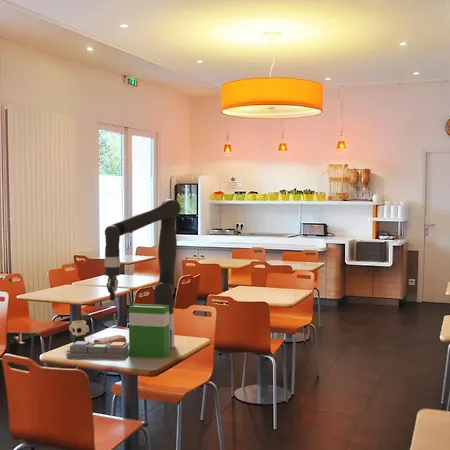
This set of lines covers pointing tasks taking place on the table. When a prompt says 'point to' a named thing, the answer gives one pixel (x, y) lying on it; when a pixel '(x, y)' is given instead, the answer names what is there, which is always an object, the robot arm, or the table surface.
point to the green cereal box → (149, 330)
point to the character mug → (78, 330)
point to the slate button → (81, 343)
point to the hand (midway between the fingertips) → (112, 300)
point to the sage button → (100, 345)
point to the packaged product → (111, 339)
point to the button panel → (98, 351)
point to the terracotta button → (117, 344)
